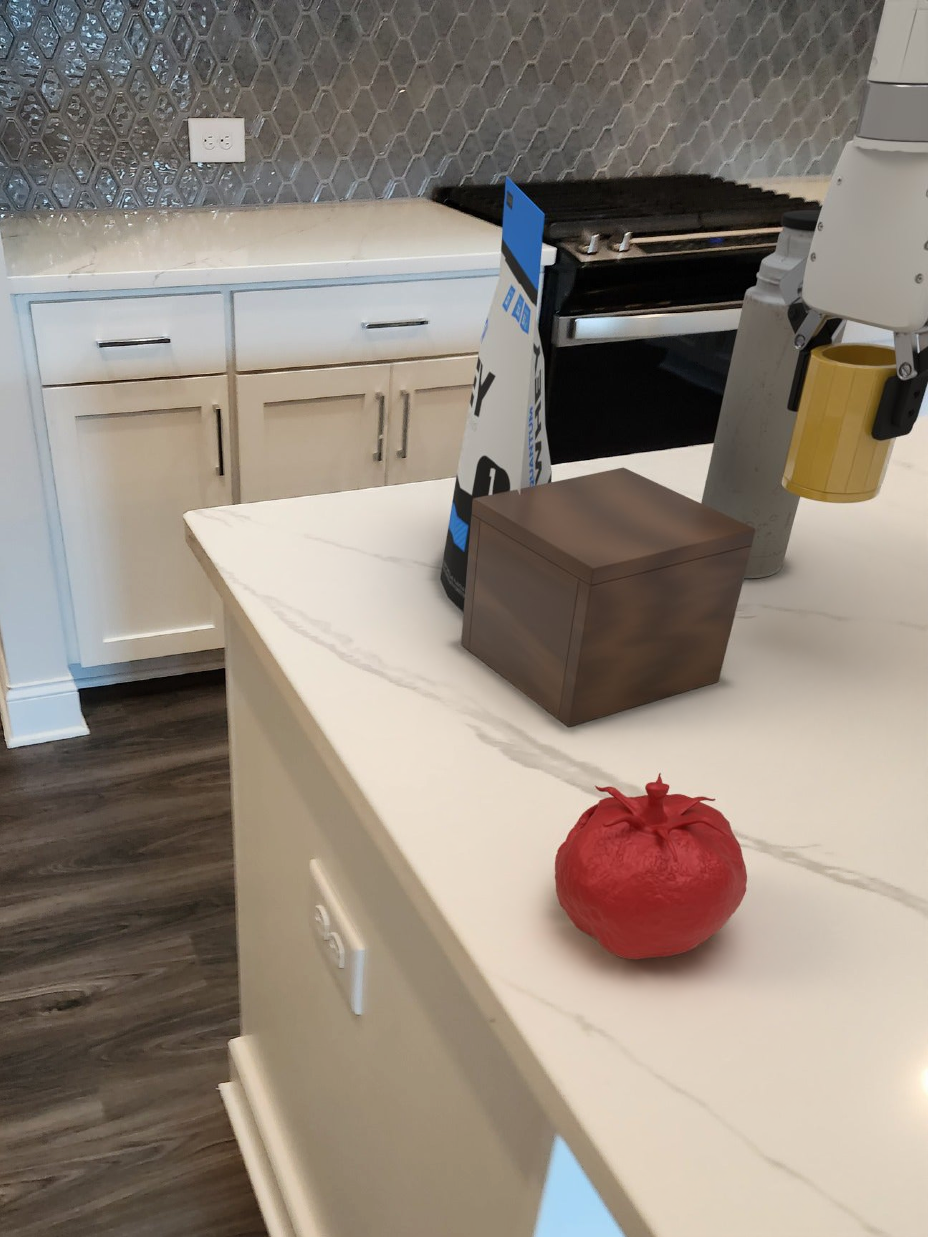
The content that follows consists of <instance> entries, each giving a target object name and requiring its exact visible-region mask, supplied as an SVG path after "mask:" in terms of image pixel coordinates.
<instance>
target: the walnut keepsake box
mask: <svg viewBox="0 0 928 1237" xmlns="http://www.w3.org/2000/svg"><path fill="white" fill-rule="evenodd" d="M755 531H756V529H755V528H753V527H750V526H748V525H746V524H744V523H742V522H740V521H738V520H735V519H733V518H731V517H729V516H727V515H725V514H722V513H720V512H718V511H716V510H714V509H712V508H710V507H707V506H705V505H703V504H701V502H698V501H697V500H694V499H692V498H690V497H688V496H686V495H684V494H682V493H679V492H677V491H675V490H673V489H671V488H669V487H666V486H665V485H663V484H660V483H658V482H656V481H654V480H652V479H650V478H647V477H645V476H643V475H641V474H638V473H637V472H635V471H632V470H630V469H628V468H626V467H619V468H614V469H609V470H605V471H599V472H595V473H591V474H584V475H580V476H576V477H575V476H574V477H570V478H566V479H561V480H556V481H551V483H546V484H541V485H536V486H531V487H526V488H522V489H521V491H520V495H519V492H518V490H512V491H507V492H502V493H497V494H493V495H488V496H483V497H478V498H474V499H473V505H472V517H471V529H470V541H469V554H468V566H467V578H466V590H465V602H464V613H463V615H462V628H461V639H460V645H461V646H463V647H464V648H465V649H466V650H468V651H469V652H471V653H472V654H473V655H474V656H476V658H478V660H480V661H481V662H483V663H484V664H485V665H487V666H488V667H490V668H491V670H493V671H495V672H496V673H497V674H499V675H500V676H501V677H503V678H504V679H505V680H507V682H509V683H511V684H512V685H513V686H515V687H516V688H517V689H518V690H520V691H521V692H523V694H525V695H526V696H527V697H528V698H530V699H531V700H533V701H534V702H535V703H536V704H538V705H539V706H541V707H542V708H543V709H545V710H546V711H547V712H548V713H549V714H551V715H553V717H555V718H556V719H558V721H560V722H562V723H563V724H564V725H565V726H567V727H573V726H576V725H580V724H584V723H586V722H589V721H592V720H593V721H594V720H596V719H599V718H602V717H606V716H609V715H612V714H616V713H619V712H622V711H626V710H629V709H632V708H635V707H638V706H642V705H645V704H650V703H651V702H655V701H659V700H662V699H665V698H669V697H671V696H674V695H679V694H681V693H685V692H688V691H691V690H694V689H698V688H701V687H704V686H708V685H712V684H715V683H717V682H719V681H720V677H721V673H722V669H723V665H724V661H725V658H726V653H727V649H728V645H729V641H730V637H731V633H732V630H733V624H734V621H735V617H736V612H737V609H738V605H739V601H740V597H741V592H742V588H743V584H744V580H745V578H744V576H745V572H746V568H747V564H748V560H749V556H750V552H751V548H752V543H753V539H754V535H755Z"/></svg>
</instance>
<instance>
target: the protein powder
mask: <svg viewBox="0 0 928 1237" xmlns="http://www.w3.org/2000/svg"><path fill="white" fill-rule="evenodd" d="M502 215H503V216H502V229H501V246H500V258H499V261H500V262H499V272H498V273H499V275H498V281H497V284H496V288H495V291H494V293H493V298H492V300H491V303H490V307H489V310H488V313H487V316H486V320H485V323H484V328H483V329H482V333H481V336H480V339H479V340H480V341H479V346H478V354H477V361H476V368H475V373H474V378H473V384H472V389H471V395H470V401H469V406H468V411H467V416H466V422H465V427H464V432H463V437H462V442H461V443H462V444H461V449H460V454H459V459H458V466H457V471H456V477H455V483H454V489H453V495H452V501H451V507H450V508H451V509H450V514H449V520H448V526H447V533H446V540H445V546H444V552H443V557H442V558H443V559H442V564H441V570H440V576H439V577H440V578H439V580H440V582H441V584H442V588H443V590H444V592H445V594H446V596H447V599H449V600H450V601H451V602H452V603H453V604H454V605H455V606H456V607H457V608H458V609H459V610H460V611H461V612H462V613H463V614H464V602H465V590H466V578H467V566H468V554H469V541H470V529H471V517H472V505H473V499H474V498H478V497H483V496H488V495H493V494H497V493H502V492H507V491H512V490H518V492H519V495H520V491H521V489H522V488H526V487H531V486H536V485H541V484H546V483H551V482H552V480H553V479H552V477H553V476H552V474H553V470H552V463H551V455H550V449H549V443H548V442H549V441H548V434H547V429H546V428H547V427H546V401H545V400H546V398H545V397H546V396H545V395H546V392H545V391H546V390H545V357H544V352H543V346H542V341H541V336H540V332H539V327H538V323H537V309H538V299H539V297H538V296H539V284H540V272H541V262H542V253H543V252H542V251H543V234H544V228H545V217H546V214H545V213H544V212H543V211H542V210H541V209H540V208H539V207H538V205H536V204H535V203H534V201H532V200H531V199H530V198H529V197H528V196H527V195H526V194H525V193H524V192H523V191H522V190H521V189H520V188H519V187H518V186H517V185H516V184H515V183H514V182H513V180H512V179H510V177H508V176H505V186H504V201H503V214H502Z"/></svg>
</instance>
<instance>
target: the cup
mask: <svg viewBox="0 0 928 1237" xmlns="http://www.w3.org/2000/svg"><path fill="white" fill-rule="evenodd" d="M893 376H897V368H896V357H895V346H890V345H885V344H878V343H877V344H876V343H869V342H867V343H866V342H841V343H834V344H828V345H823V346H818V347H816V348H814V349H813V350H811V352H810V357H809V361H808V365H807V370H806V374H805V378H804V383H803V387H802V391H801V395H800V400H799V404H798V408H797V413H796V417H795V421H794V426H793V430H792V434H791V438H790V443H789V447H788V451H787V456H786V460H785V464H784V468H783V475H782V480H781V483H782V486H783V487H784V488H785V489H786V490H787V491H789V492H791V493H793V494H795V495H797V496H800V498H804V499H807V500H811V501H815V502H816V501H817V502H822V503H829V504H854V503H855V504H857V503H864V502H867V501H870V500H872V499H875V498H877V497H878V495H879V494H880V492H881V489H882V485H883V484H884V480H885V478H886V474H887V470H888V467H889V464H890V460H891V456H892V454H893V450H894V446H895V443H896V439H897V437H895V438H891V439H887V440H883V441H879V440H876V439H873V438H872V435H871V432H872V428H873V425H874V421H875V418H876V414H877V410H878V407H879V403H880V399H881V396H882V392H883V389H884V385H885V382H886V380H887V379H888V377H893Z"/></svg>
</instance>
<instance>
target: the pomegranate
mask: <svg viewBox="0 0 928 1237" xmlns="http://www.w3.org/2000/svg"><path fill="white" fill-rule="evenodd" d="M661 775H662V773H661V772H659V773H658V776H657V779H656V780H655V781H650V782H647V783H646V784H645V786H644V790H645V792H646V794H643V795H639V796H626V795H625V794H623V793H622V792H621V791H620V790H619V789H617V788H616V787H614V786H605V787H599V786H597V785H594V787H595V789H596V790H597V791H598V792H601V793H608V795H610V797H609V796H608V797H605V798H602V799H600V800H599V799H598V800H599V801H598V803H597V804H594V805H592V806H591V807H589V808H587V809H586V810H584V812H582V814H581V815H580V817H579V818H578V819H577V822H576V823H575V824H574V826H573V827H572V828H571V829H570V830H569V832H568V834H567V836H566V839H565V841H564V842H562V843H561V844H560V845H559V847H558V848H557V851H556V854H555V857H554V858H555V859H554V872H555V873H554V881H555V893H556V897H557V900H558V902H559V906H560V907H561V909H563V911H564V912H565V914H566V915H567V916H568V918H569V919H570V920H571V922H572V923H573V925H574V926H575V927H577V929H578V930H580V931H581V932H583V933H585V934H587V935H588V936H590V937H593V938H594V939H596V940H597V941H598V943H599V944H600V946H601V947H602V948H603V949H604V950H606V951H608V952H609V953H610V954H613V955H614V956H618V957H621V958H623V959H629V960H640V959H648V958H660V957H667V956H668V957H669V956H674V955H678V954H682V953H685V952H689V951H691V950H693V949H694V948H696V947H697V946H698V945H700V944H701V943H704V942H705V941H707V940H708V939H709V938H711V937H712V936H714V935H715V934H716V933H717V932H718V931H719V930H720V929H722V928H723V927H724V926H725V924H726V923H727V922H728V921H729V919H730V918H731V917H732V916H733V914H735V912H736V911H737V909H738V908H739V907H740V905H741V903H742V902H743V899H744V897H745V895H746V892H747V885H748V884H747V883H748V872H747V866H746V863H745V861H744V856H743V850H742V847H741V844H740V842H739V841H738V840H737V837H736V835H735V834H734V832H733V830H732V827H731V824H730V822H729V820H728V819H727V818H726V817H725V815H724V814H723V813H722V812H721V811H720V810H718V809H717V808H715V807H713V806H711V805H708V804H707V803H703V802H704V801H709V802H715V801H716V798H711V797H707V796H695V797H691V796H687V795H685V794H681V793H671V794H668V793H669V790H670V784H668V783H664V782H663V779H662V777H661Z"/></svg>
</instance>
